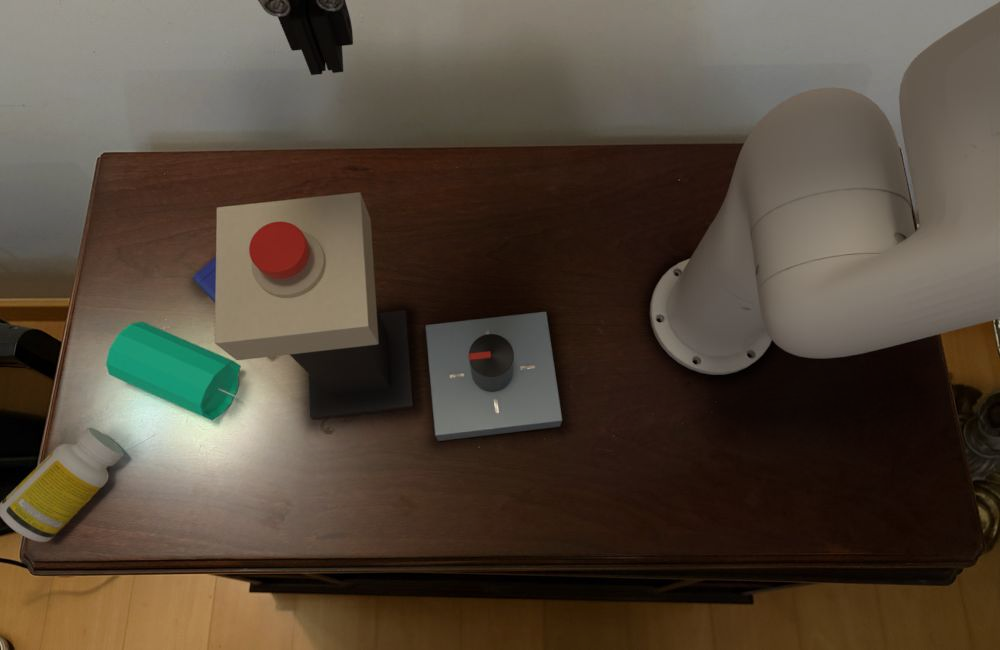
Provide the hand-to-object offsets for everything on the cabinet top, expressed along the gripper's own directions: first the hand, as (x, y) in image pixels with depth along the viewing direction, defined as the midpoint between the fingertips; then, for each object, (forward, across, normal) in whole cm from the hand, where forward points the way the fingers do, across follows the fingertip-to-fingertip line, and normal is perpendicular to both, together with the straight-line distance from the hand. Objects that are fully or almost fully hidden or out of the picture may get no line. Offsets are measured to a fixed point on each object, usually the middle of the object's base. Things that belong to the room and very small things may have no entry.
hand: (326, 50), depth 36 cm
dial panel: (+39, +7, -8) cm, 41 cm away
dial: (+36, +7, -8) cm, 38 cm away
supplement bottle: (+36, -37, -17) cm, 55 cm away
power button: (+13, -6, -5) cm, 16 cm away
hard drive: (+39, -16, +4) cm, 42 cm away
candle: (+36, -28, -2) cm, 46 cm away
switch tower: (+39, -6, -5) cm, 40 cm away
